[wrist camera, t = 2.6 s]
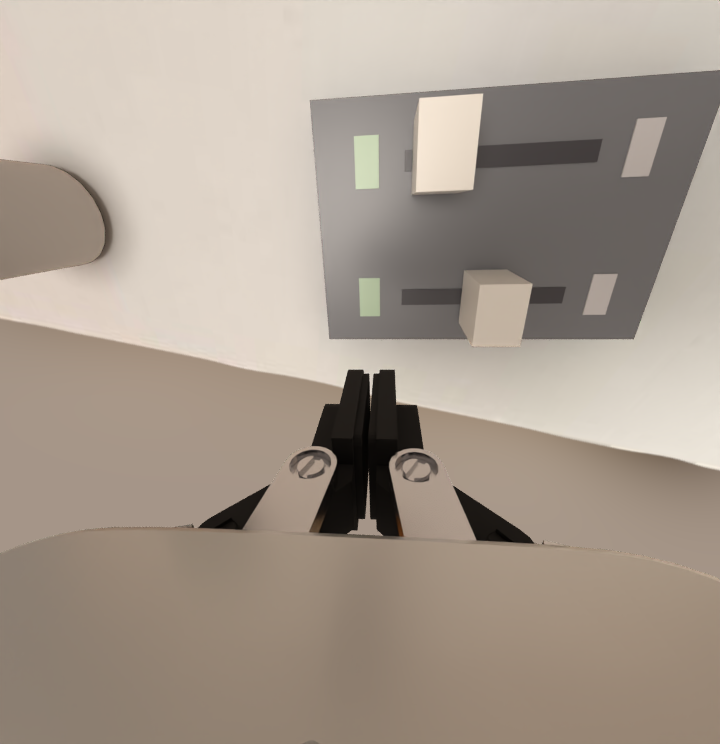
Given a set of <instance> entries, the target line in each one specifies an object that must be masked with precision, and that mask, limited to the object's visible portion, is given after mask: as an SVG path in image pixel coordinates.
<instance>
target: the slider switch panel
mask: <svg viewBox="0 0 720 744" xmlns="http://www.w3.org/2000/svg"><path fill="white" fill-rule="evenodd" d="M469 94H483V101H482V111H481V120H480V129H479V139H478V148H477V158H476V167H475V176H474V186H473V190H469V191H465V192H460V193H450V194H427V195H411V194H412V162H413V131H414V119H415V115H416V111H417V106H418V102H419V98H427V97H441V96H455V95H469ZM719 105H720V70H717V71H703V72H689V73H676V74H662V75H648V76H635V77H621V78H607V79H594V80H580V81H566V82H553V83H539V84H525V85H512V86H498V87H484V88H471V89H457V90H443V91H430V92H416V93H402V94H389V95H375V96H361V97H348V98H334V99H320V100H310V108H311V120H312V132H313V144H314V156H315V168H316V180H317V193H318V205H319V217H320V229H321V241H322V253H323V265H324V278H325V290H326V302H327V314H328V326H329V338H330V339H467V337H466V335H465V333H464V331H463V330H462V328H461V326H460V324H459V313H460V304H461V294H462V285H463V275H464V270H502V269H507V270H508V271H510V272H512V273H514V274H516V275H518V276H519V277H521V278H523V279H525V280H527V281H528V282H530V283H532V284H533V285H532V290H531V295H530V300H529V305H528V310H527V315H526V320H525V325H524V330H523V335H522V339H634V337H635V334H636V332H637V329H638V326H639V323H640V321H641V318H642V315H643V312H644V310H645V307H646V304H647V302H648V299H649V296H650V293H651V291H652V288H653V285H654V282H655V280H656V277H657V274H658V272H659V269H660V266H661V263H662V261H663V258H664V255H665V252H666V250H667V247H668V244H669V242H670V239H671V236H672V233H673V231H674V228H675V225H676V222H677V220H678V217H679V214H680V212H681V209H682V206H683V203H684V201H685V198H686V195H687V192H688V190H689V187H690V184H691V182H692V179H693V176H694V173H695V171H696V168H697V165H698V162H699V160H700V157H701V154H702V152H703V149H704V146H705V143H706V141H707V138H708V135H709V132H710V130H711V127H712V124H713V122H714V119H715V116H716V113H717V111H718V108H719Z"/></svg>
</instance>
